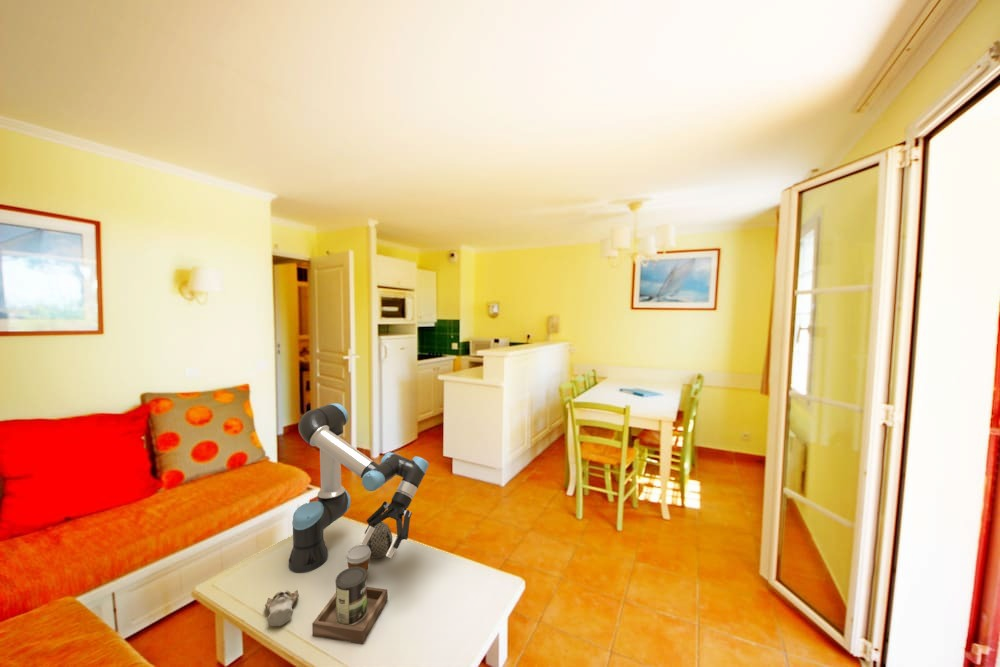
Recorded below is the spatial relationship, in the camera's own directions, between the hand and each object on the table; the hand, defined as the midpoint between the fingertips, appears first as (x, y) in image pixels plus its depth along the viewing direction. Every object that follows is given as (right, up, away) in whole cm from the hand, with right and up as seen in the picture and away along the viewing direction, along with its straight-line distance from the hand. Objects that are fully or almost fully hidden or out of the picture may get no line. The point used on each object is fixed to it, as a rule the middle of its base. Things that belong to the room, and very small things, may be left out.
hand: (375, 550), depth 137 cm
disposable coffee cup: (-10, -18, +10) cm, 23 cm away
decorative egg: (-7, -17, +25) cm, 31 cm away
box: (-6, -19, -8) cm, 21 cm away
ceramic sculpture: (-31, -19, -7) cm, 37 cm away
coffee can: (-6, -18, -8) cm, 21 cm away
